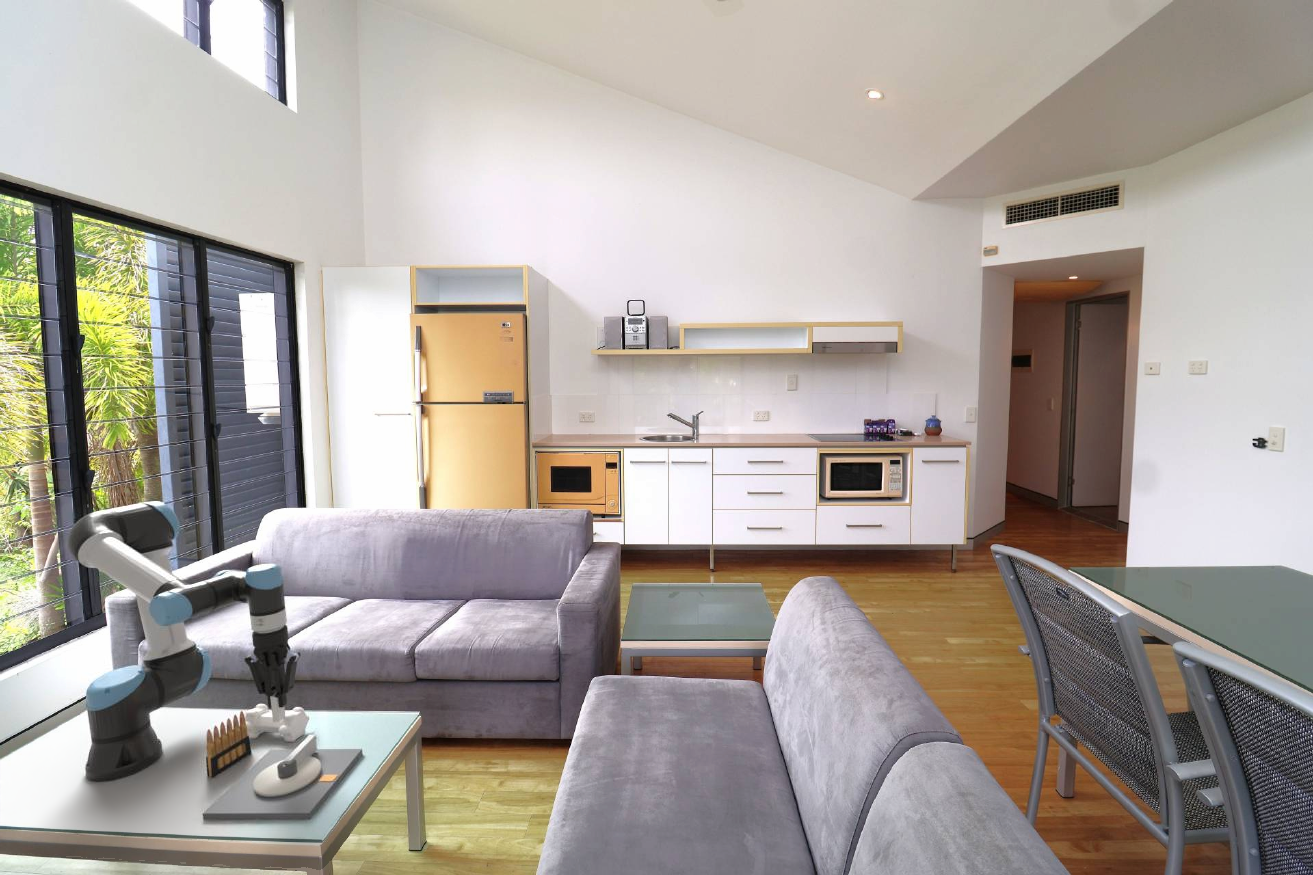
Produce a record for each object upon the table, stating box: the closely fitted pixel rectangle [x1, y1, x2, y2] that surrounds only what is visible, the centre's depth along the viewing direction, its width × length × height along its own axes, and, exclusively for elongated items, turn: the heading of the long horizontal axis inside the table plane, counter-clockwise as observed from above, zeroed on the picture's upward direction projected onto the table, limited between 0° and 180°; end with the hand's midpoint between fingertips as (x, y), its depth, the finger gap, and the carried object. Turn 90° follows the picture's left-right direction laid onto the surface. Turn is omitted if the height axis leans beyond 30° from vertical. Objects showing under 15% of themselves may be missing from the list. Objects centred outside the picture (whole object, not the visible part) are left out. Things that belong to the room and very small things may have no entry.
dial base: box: [202, 748, 363, 821], centre depth 154 cm, size 24×24×2 cm
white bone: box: [244, 703, 310, 743], centre depth 175 cm, size 15×9×8 cm, turn 79°
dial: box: [253, 734, 321, 797], centre depth 156 cm, size 18×14×4 cm
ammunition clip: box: [205, 710, 252, 779], centre depth 162 cm, size 11×2×12 cm, turn 163°
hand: (279, 718), depth 161 cm, fingers closed
